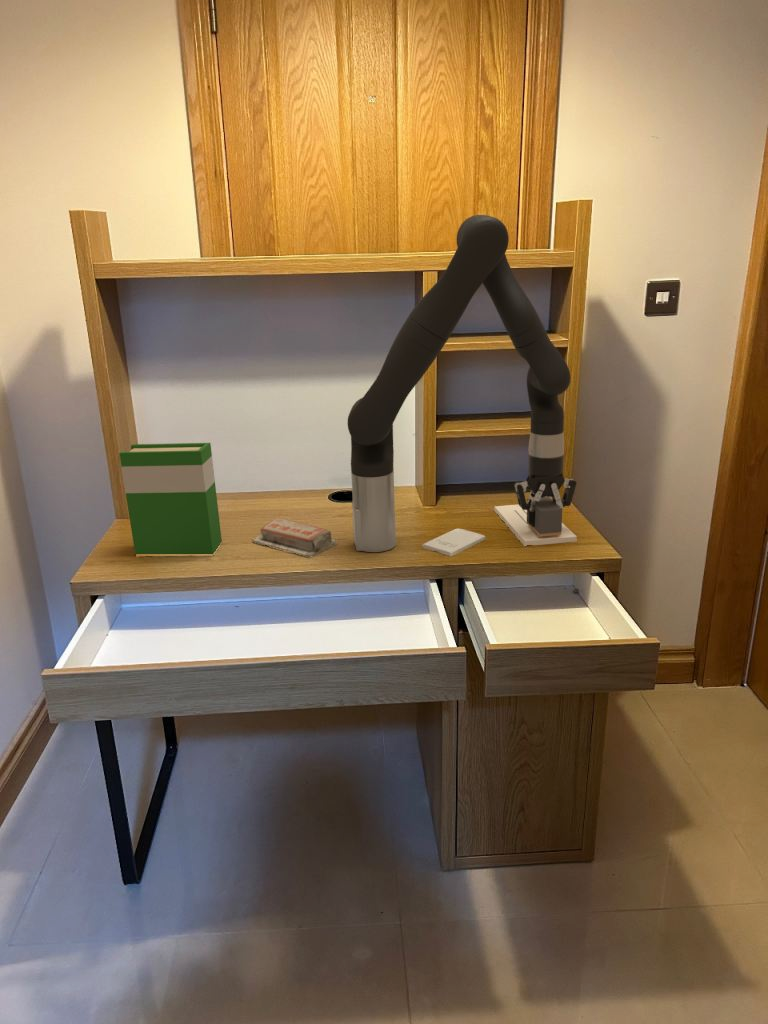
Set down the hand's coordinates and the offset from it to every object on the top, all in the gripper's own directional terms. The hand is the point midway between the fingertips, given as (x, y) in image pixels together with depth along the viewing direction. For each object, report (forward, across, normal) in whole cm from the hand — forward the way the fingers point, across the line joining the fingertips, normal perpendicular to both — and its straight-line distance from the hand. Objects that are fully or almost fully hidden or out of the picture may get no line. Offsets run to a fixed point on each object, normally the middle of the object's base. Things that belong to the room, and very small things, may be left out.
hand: (544, 524), depth 170 cm
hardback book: (+3, -82, +10) cm, 83 cm away
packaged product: (+3, -56, +8) cm, 57 cm away
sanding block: (+1, 0, 0) cm, 1 cm away
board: (+3, 0, +7) cm, 8 cm away
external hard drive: (+3, -21, 0) cm, 21 cm away
